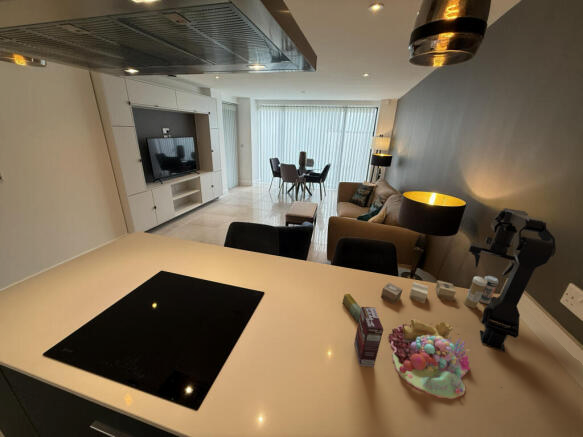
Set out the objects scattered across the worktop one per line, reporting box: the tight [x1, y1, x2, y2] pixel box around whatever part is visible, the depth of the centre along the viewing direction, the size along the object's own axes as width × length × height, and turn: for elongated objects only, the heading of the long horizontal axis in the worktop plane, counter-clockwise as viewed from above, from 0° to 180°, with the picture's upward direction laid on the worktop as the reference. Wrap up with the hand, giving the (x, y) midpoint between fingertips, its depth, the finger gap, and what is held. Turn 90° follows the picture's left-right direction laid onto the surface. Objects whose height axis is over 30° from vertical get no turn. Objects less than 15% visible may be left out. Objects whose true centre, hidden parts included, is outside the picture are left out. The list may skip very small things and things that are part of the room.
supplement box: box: [353, 306, 384, 367], centre depth 72 cm, size 9×5×16 cm, turn 177°
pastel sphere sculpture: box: [388, 318, 471, 400], centre depth 73 cm, size 25×24×9 cm
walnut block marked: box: [380, 282, 403, 305], centre depth 101 cm, size 6×6×5 cm
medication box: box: [342, 293, 362, 324], centre depth 92 cm, size 12×3×4 cm, turn 18°
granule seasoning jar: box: [463, 275, 487, 309], centre depth 98 cm, size 5×5×14 cm
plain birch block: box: [408, 281, 429, 304], centre depth 103 cm, size 6×6×5 cm
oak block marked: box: [434, 280, 457, 301], centre depth 105 cm, size 6×6×5 cm
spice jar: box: [479, 275, 499, 304], centre depth 101 cm, size 5×5×12 cm
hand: (489, 271), depth 100 cm, fingers open, 9 cm apart
